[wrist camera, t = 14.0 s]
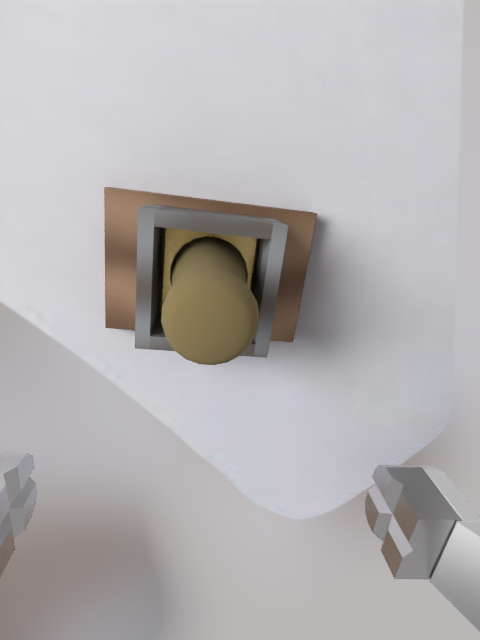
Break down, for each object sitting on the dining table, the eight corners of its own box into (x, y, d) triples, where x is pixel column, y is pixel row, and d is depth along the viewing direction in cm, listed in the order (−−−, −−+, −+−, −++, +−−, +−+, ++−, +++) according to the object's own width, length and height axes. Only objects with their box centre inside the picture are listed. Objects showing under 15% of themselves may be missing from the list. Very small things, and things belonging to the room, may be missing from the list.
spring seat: (167, 224, 27) (165, 226, 26) (255, 234, 28) (257, 236, 27) (163, 309, 30) (161, 313, 29) (244, 315, 30) (245, 320, 30)
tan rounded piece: (247, 234, 27) (272, 265, 17) (248, 310, 29) (272, 378, 19) (165, 238, 27) (140, 272, 16) (173, 314, 29) (156, 387, 19)
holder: (109, 187, 27) (82, 188, 21) (311, 212, 29) (338, 219, 23) (110, 321, 31) (87, 354, 25) (289, 335, 33) (307, 369, 27)
